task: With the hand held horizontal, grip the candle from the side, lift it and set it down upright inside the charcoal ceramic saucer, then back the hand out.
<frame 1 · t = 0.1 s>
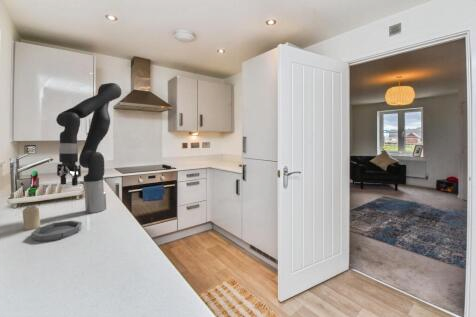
hand: (68, 184, 117), 17 cm above the countertop, tool pointing down, fingers open, 8 cm apart
candle: (32, 228, 106), on the countertop
saucer: (58, 233, 100), on the countertop
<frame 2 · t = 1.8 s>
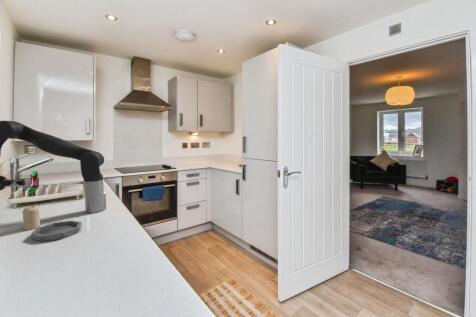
hand: (12, 185, 109), 19 cm above the countertop, tool horizontal, fingers open, 8 cm apart
nothing on the countertop moved.
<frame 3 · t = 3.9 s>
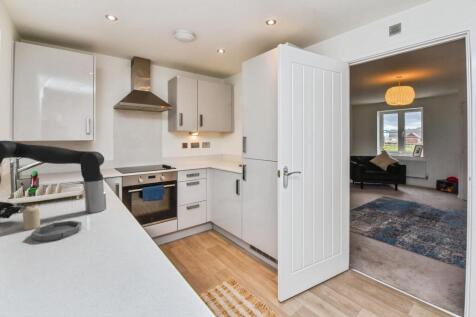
hand: (20, 213, 109), 6 cm above the countertop, tool horizontal, fingers open, 8 cm apart
nothing on the countertop moved.
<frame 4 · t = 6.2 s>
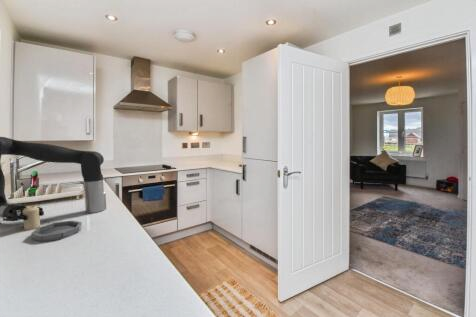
hand: (34, 215, 105), 6 cm above the countertop, tool horizontal, fingers closed on candle, 5 cm apart
candle: (32, 228, 106), on the countertop, touching gripper
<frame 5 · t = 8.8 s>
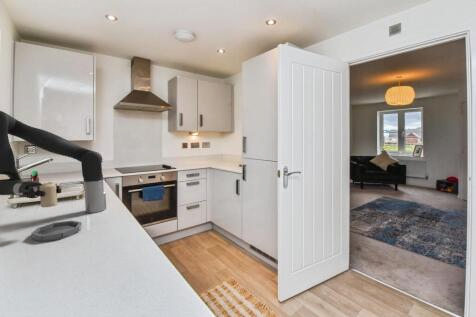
hand: (52, 192, 99), 18 cm above the countertop, tool horizontal, fingers closed on candle, 5 cm apart
candle: (49, 206, 100), point 12 cm above the countertop, touching gripper
when the fingers open (8 cm above the countertop, at t = 11.5 s): candle stays where it is, resting on saucer.
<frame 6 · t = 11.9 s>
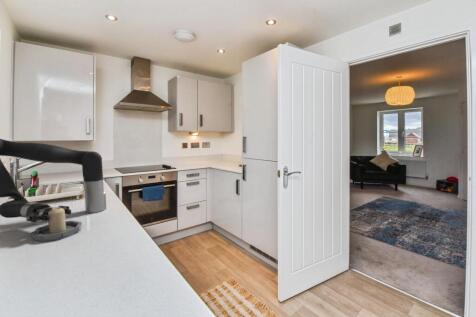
hand: (59, 215, 98), 8 cm above the countertop, tool horizontal, fingers open, 8 cm apart
candle: (58, 231, 100), point 1 cm above the countertop, touching saucer
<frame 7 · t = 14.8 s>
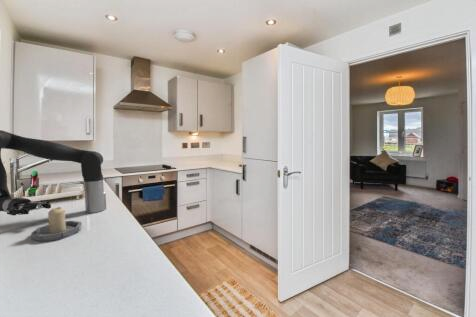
hand: (39, 208, 104), 9 cm above the countertop, tool horizontal, fingers open, 8 cm apart
nothing on the countertop moved.
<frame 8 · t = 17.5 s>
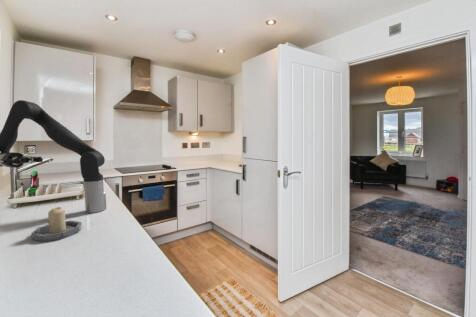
hand: (31, 160, 112), 30 cm above the countertop, tool horizontal, fingers open, 8 cm apart
nothing on the countertop moved.
at the end: candle 0.1 cm off-centre on the saucer, point 0.8 cm above the saucer's base; candle tilted 0°; the gripper is holding nothing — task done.
